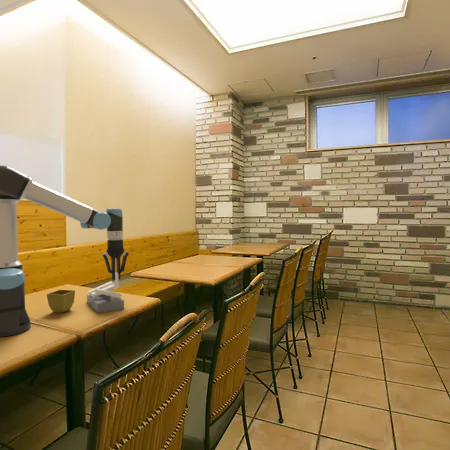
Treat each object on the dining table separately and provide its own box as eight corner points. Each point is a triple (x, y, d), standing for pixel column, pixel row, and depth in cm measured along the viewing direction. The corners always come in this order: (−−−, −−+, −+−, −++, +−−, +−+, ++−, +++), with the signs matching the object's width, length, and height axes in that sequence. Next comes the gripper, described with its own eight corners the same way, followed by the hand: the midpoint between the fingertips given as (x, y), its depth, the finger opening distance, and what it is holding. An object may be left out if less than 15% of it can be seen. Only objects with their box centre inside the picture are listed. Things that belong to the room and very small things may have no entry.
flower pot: (63, 314, 149) (63, 294, 149) (46, 313, 151) (46, 293, 150) (76, 309, 158) (75, 290, 157) (59, 308, 159) (59, 289, 159)
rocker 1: (90, 295, 164) (89, 292, 164) (89, 293, 167) (88, 291, 166) (114, 284, 170) (113, 282, 170) (112, 283, 173) (111, 281, 173)
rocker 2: (93, 297, 158) (92, 294, 158) (91, 296, 161) (90, 293, 161) (117, 287, 165) (116, 284, 165) (115, 286, 168) (115, 283, 167)
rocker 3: (95, 293, 153) (96, 289, 153) (94, 291, 156) (95, 288, 156) (120, 297, 159) (121, 294, 160) (118, 296, 162) (119, 292, 162)
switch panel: (97, 313, 151) (97, 300, 151) (87, 302, 169) (86, 290, 169) (124, 308, 158) (123, 296, 157) (111, 299, 176) (110, 287, 175)
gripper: (103, 240, 158) (104, 289, 159) (130, 239, 166) (131, 285, 167) (99, 239, 165) (100, 286, 166) (125, 238, 172) (126, 283, 173)
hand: (116, 286), depth 166 cm, fingers closed, pressing on rocker 2
